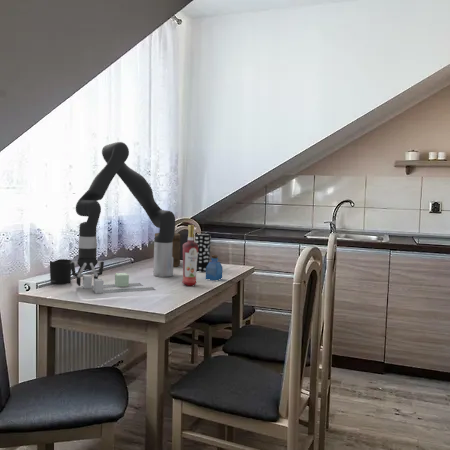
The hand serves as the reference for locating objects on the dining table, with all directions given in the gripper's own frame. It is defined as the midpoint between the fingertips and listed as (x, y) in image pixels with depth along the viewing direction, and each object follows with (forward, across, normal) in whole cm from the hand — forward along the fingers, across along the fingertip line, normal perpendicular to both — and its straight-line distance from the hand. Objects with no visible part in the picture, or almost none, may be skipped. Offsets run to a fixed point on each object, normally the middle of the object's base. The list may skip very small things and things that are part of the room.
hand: (87, 285), depth 208 cm
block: (+1, -15, 0) cm, 15 cm away
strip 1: (+2, -11, 0) cm, 11 cm away
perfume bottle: (+2, -63, -7) cm, 63 cm away
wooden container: (+2, -53, -51) cm, 74 cm away
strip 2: (+2, -14, +10) cm, 17 cm away
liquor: (+2, -46, +3) cm, 46 cm away
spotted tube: (+2, -66, -30) cm, 73 cm away
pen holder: (+2, +9, -17) cm, 19 cm away
